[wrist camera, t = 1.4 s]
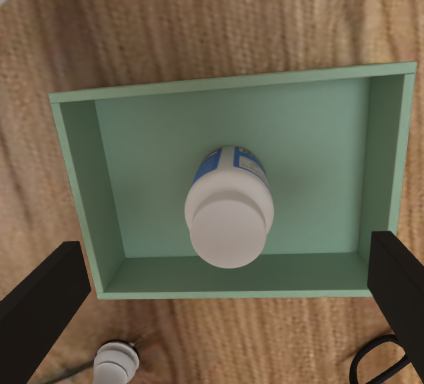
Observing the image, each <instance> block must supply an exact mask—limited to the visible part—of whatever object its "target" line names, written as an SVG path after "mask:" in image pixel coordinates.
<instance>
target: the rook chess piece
mask: <svg viewBox="0 0 424 384" xmlns="http://www.w3.org/2000/svg"><path fill="white" fill-rule="evenodd" d="M138 365H139V359H138V356H137V354H136V351H135V350H134V349H133V348H132V347H131V346H129V345H127V344H126V343H122V342H118V341H117V342H110V343H107V344H105V345H103V346H101V348H100V349H99V351H98V354H97V356H96V358H95V360H94V380H93V383H92V384H126V383H127V382H129V381H130V380H131V379H132V377H133V376H134V375H135V370H136V369H137V368H138Z"/></svg>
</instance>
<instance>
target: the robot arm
mask: <svg viewBox="0 0 424 384" xmlns="http://www.w3.org/2000/svg"><path fill="white" fill-rule="evenodd" d="M367 287H368V289H369V291H370V292H371V294H372V296H373V297H374V299H375V301H376V303H377V304H378V306H379V308H380V310H381V311H382V313H383V315H384V316H385V318H386V320H387V322H388V323H389V325H390V327H391V329H392V330H393V332H394V334H395V335H396V337H397V339H398V341H399V342H400V344H401V346H402V348H403V349H404V351H405V353H406V354H407V356H408V358H409V360H410V361H411V363H412V365H413V367H414V368H415V370H416V372H417V373H418V375H419V377H420V379H421V380H422V382H423V384H424V266H423V265H422V264H421V263H420V262H419V261H418V260H417V259H416V257H415V256H414V255H413V254H412V253H411V252H410V251H409V250H408V249H407V248H406V247H405V246H404V245H403V243H402V242H401V241H400V240H399V239H398V238H397V237H396V236H395V235H394V234H393V233H392V232H391V231H372V232H371V244H370V255H369V267H368V278H367ZM90 292H91V287H90V283H89V279H88V274H87V270H86V266H85V262H84V258H83V254H82V250H81V246H80V242H79V241H68V242H63V243H62V244H61V245H60V246H59V247H58V248H57V249H56V250H55V251H54V252H52V253H51V254H50V255H49V256H48V257H47V258H46V259H45V260H44V261H43V262H42V263H41V264H40V265H39V266H38V267H37V268H36V269H34V270H33V271H32V272H31V273H30V274H29V275H28V276H27V277H26V278H25V279H24V280H23V281H22V282H21V283H20V284H19V285H17V286H16V287H15V288H14V289H13V290H12V291H11V292H10V293H9V294H8V295H7V296H6V297H5V298H4V299H3V300H2V301H0V384H26V383H27V382H28V381H29V379H30V378H31V376H32V375H33V373H34V372H35V371H36V369H37V368H38V366H39V365H40V363H41V362H42V360H43V359H44V358H45V356H46V355H47V353H48V352H49V350H50V349H51V348H52V346H53V345H54V343H55V342H56V340H57V339H58V338H59V336H60V335H61V333H62V332H63V330H64V329H65V327H66V326H67V325H68V323H69V322H70V320H71V319H72V317H73V316H74V315H75V313H76V312H77V310H78V309H79V307H80V306H81V305H82V303H83V302H84V300H85V299H86V297H87V296H88V294H89V293H90Z"/></svg>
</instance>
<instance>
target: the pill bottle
mask: <svg viewBox="0 0 424 384" xmlns="http://www.w3.org/2000/svg"><path fill="white" fill-rule="evenodd" d="M184 212H185V220H186V223H187V226H188V228H189V230H190V239H191V243H192V245H193V248H194V249H195V251H196V252H197V254H198V255H199V256H200V257H201V258H202V259H203V260H205V261H206V262H208V263H209V264H211V265H214V266H217V267H220V268H237V267H241V266H244V265H247V264H249V263H250V262H252V261H253V260H254V259H255V258H257V257H258V256H259V254H260V253H261V252H262V250H263V248H264V246H265V242H266V235H267V234H268V232H269V230H270V228H271V226H272V223H273V219H274V205H273V200H272V195H271V192H270V188H269V184H268V180H267V177H266V173H265V169H264V166H263V164H262V163H261V161H260V160H259V159H258V158H257V156H256V155H254V154H253V153H252V152H250V151H249V150H247V149H245V148H242V147H238V146H224V147H220V148H218V149H215V150H214V151H212V152H211V153H209V154H208V155H207V156H206V157H205V158H204V159H203V161H202V162H201V164H200V166H199V168H198V170H197V173H196V175H195V178H194V180H193V183H192V185H191V188H190V190H189V193H188V195H187V198H186V202H185V210H184Z"/></svg>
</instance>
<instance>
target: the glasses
mask: <svg viewBox="0 0 424 384" xmlns="http://www.w3.org/2000/svg"><path fill="white" fill-rule="evenodd" d="M389 341H391V342H394V343H396V344H398V345H399V346H401V344H400V342H399V341H398V339H397V337H396V335H394V334H388V335H384V336H381V337H378V338H376V339H374V340H372V341H371V342H369V343H368V344H367V345H365V346H364V347H363V348H362V349H361V350H360V351H359V352H358V353H357V354H356V356H355V357H354V359H353V361H352V363H351V366H350V372H349V382H350V384H358V380H357V365H358V363H359V361H360V360H361V359H362V357H363V356H364V355H365V354H366V353H368V352H369V351H370V350H372V349H373V348H374V347H376V346H378V345H380V344H382V343H384V342H389ZM401 347H402V346H401ZM410 362H411V361H410V360H409V358H408V356H407V354H406V353H405V355H404V356H403V358H402V359H401V360H400V361H399V362H397V363H396V364H394V365H393V366H392V367H390V368H389V369H387V370H386V371H384V372H383V373H381V374H380V375H378V376H377V377H375V378H374V379H372V380H371V381H369V382H368V383H366V384H381V383H382V382H384V381H385V380H387V379H388V378H390V377H391V376H393V375H394V374H396V373H397V372H398V371H400V370H401V369H402V368H404V367H405V366H406V365H408V364H409V363H410Z"/></svg>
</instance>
